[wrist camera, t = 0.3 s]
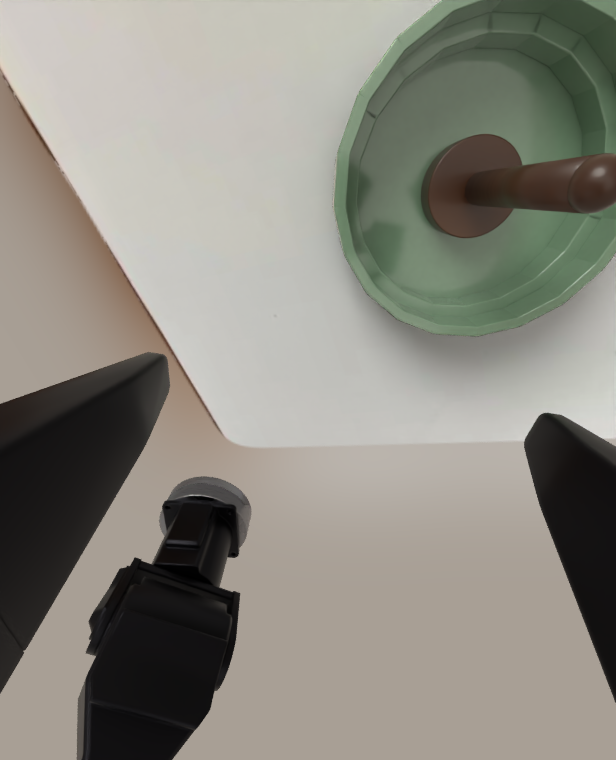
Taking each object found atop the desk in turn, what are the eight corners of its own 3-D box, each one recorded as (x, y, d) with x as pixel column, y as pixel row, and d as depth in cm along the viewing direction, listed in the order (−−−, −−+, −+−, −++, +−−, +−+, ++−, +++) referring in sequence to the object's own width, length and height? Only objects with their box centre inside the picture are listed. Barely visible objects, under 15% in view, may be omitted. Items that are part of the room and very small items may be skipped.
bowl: (546, 319, 25) (588, 343, 21) (325, 307, 25) (325, 328, 21) (649, 25, 18) (740, -22, 14) (344, 13, 19) (350, -38, 15)
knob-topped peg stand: (495, 237, 22) (662, 279, 11) (413, 233, 22) (500, 270, 11) (520, 140, 20) (759, 74, 9) (429, 136, 20) (556, 65, 9)
